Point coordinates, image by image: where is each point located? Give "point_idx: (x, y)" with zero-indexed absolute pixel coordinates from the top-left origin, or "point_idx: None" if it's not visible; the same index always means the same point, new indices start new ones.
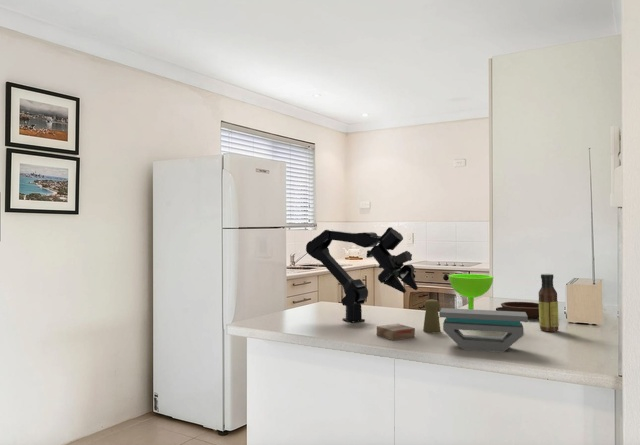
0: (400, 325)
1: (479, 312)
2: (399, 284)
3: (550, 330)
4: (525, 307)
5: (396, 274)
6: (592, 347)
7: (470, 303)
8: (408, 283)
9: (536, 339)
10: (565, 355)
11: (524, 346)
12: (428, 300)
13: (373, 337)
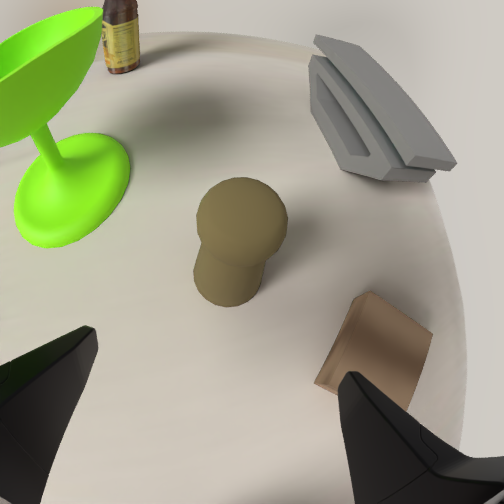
0: (357, 356)
1: (390, 88)
2: (411, 427)
3: (139, 61)
4: None
5: (500, 466)
6: (239, 42)
7: (49, 133)
8: (51, 435)
9: (215, 72)
10: None
11: (288, 87)
12: (270, 221)
13: (410, 403)
